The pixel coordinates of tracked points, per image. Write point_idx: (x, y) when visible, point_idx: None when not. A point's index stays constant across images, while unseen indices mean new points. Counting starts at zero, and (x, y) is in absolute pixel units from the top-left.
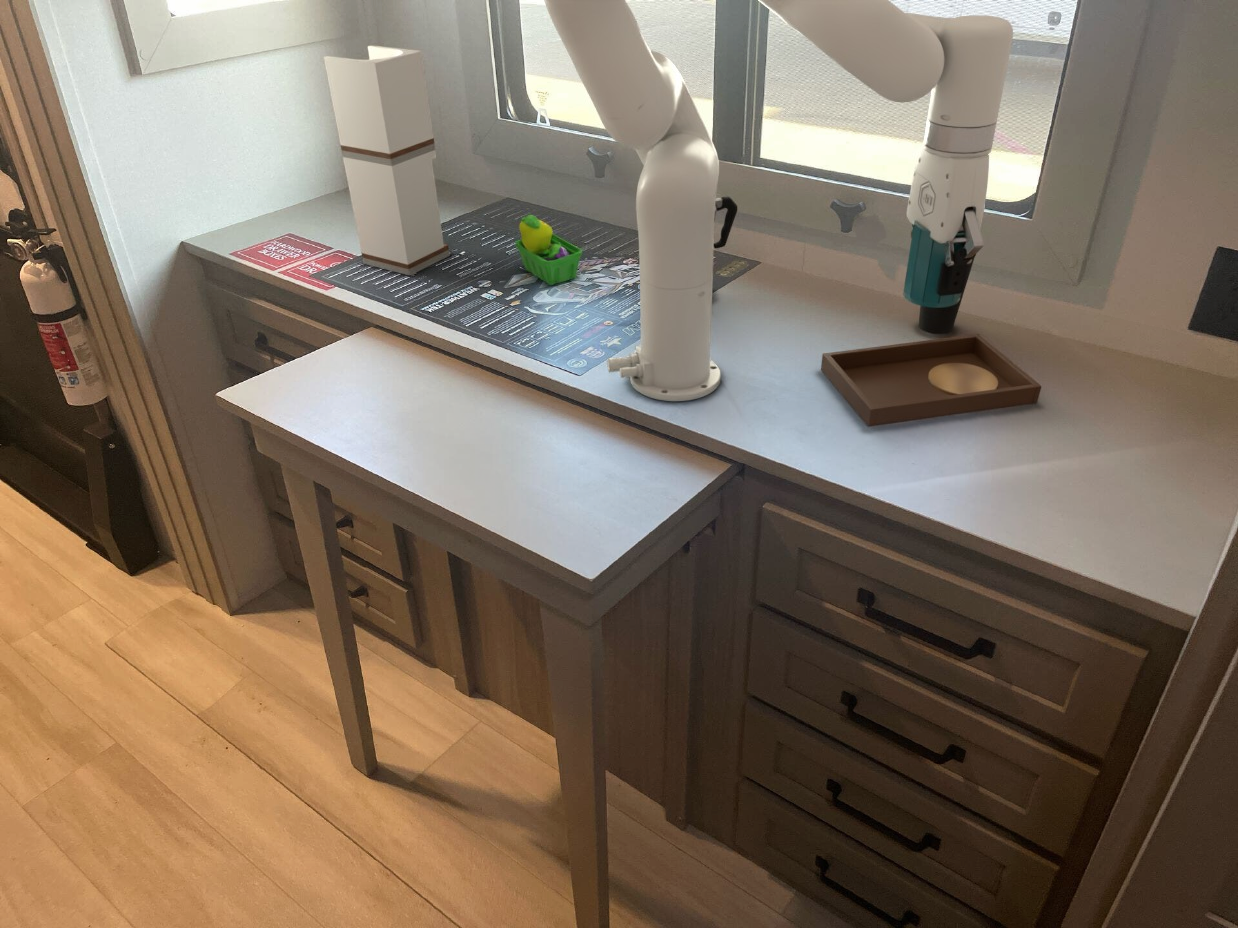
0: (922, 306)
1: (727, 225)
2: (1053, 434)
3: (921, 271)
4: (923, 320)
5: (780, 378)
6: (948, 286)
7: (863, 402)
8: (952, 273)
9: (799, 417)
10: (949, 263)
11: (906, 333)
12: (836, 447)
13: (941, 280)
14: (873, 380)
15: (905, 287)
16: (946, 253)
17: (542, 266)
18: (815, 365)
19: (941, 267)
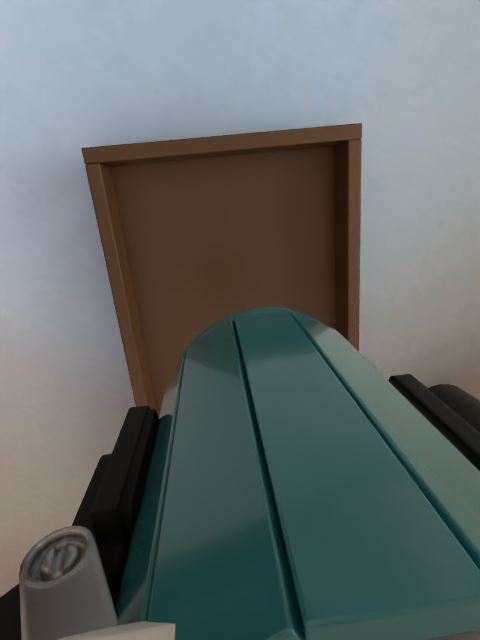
0: (478, 408)
1: None
2: (75, 457)
3: (208, 391)
4: (451, 397)
5: (342, 23)
6: (105, 459)
7: (121, 145)
8: (77, 518)
9: (163, 10)
10: (52, 551)
11: (444, 359)
12: (32, 58)
13: (116, 449)
14: (276, 231)
15: (283, 317)
16: (78, 594)
17: None
18: (378, 133)
19: (114, 492)
